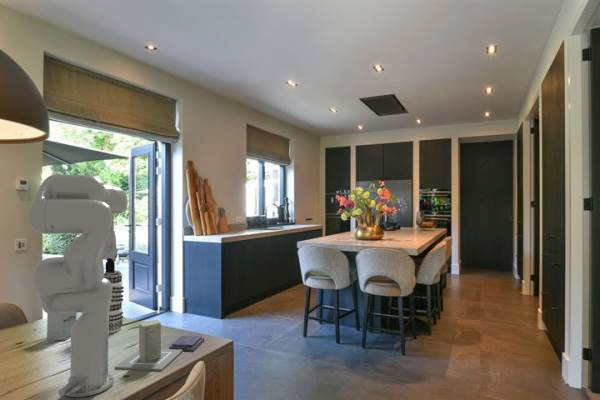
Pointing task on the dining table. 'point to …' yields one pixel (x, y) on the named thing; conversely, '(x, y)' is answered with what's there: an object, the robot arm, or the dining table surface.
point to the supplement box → (60, 325)
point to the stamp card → (154, 365)
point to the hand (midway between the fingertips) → (101, 275)
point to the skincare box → (149, 340)
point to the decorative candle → (115, 301)
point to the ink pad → (187, 343)
